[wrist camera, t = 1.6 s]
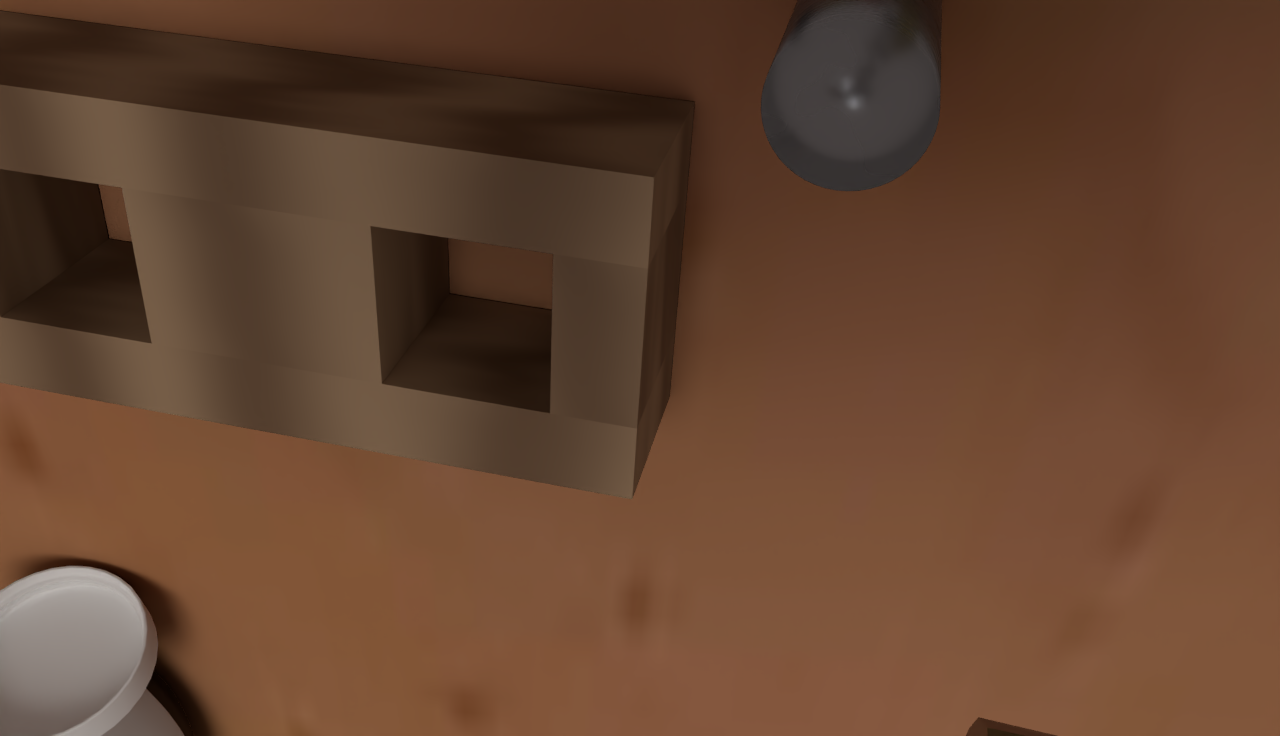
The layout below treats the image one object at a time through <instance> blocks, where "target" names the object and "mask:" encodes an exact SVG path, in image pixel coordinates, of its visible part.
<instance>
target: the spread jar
mask: <svg viewBox="0 0 1280 736" xmlns="http://www.w3.org/2000/svg"><path fill="white" fill-rule="evenodd" d="M157 651H158V639H157V631H156V627H155V624H154V622H153V619H152V617H151V614H150V613H149V611H148V610H147V608H146V607H145V605H144V604H143V602H142V601H141V599H140V598H139V596H138V595H137V594H136V592H135V591H134V589H133V588H132V587H131V586H130V585H129V584H127V583H126V582H125V581H124V580H123V579H121V578H120V577H118V576H116V575H114V574H112V573H110V572H108V571H106V570H102V569H98V568H94V567H89V566H64V567H55V568H50V569H47V570H43V571H40V572H36V573H33V574H31V575H28V576H26V577H24V578H22V579H19V580H17V581H15V582H13V583H12V584H10V585H8V586H7V587H5V588H4V589H2V590H0V736H194V733H193V731H192V728H191V726H190V723H189V720H188V718H187V716H186V714H185V712H184V710H183V708H182V706H181V704H180V702H179V700H178V698H177V697H176V695H175V694H174V692H173V691H172V690H171V688H170V687H169V686H168V685H167V683H166V682H165V681H164V680H163V679H162V678H161V677H160V676H159V675H158V674H157V673H156V672H155V671H154V667H155V664H156V661H157Z"/></svg>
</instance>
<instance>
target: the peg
mask: <svg viewBox="0 0 1280 736" xmlns="http://www.w3.org/2000/svg"><path fill="white" fill-rule="evenodd" d="M941 29H942V0H798V1H797V3H796V6H795V8H794V11H793V13H792V16H791V18H790V21H789V23H788V26H787V28H786V31H785V33H784V35H783V38H782V40H781V43H780V45H779V48H778V50H777V53H776V55H775V58H774V60H773V62H772V65H771V67H770V70H769V72H768V75H767V78H766V81H765V84H764V87H763V92H762V98H761V114H762V122H763V126H764V130H765V133H766V136H767V139H768V141H769V143H770V145H771V147H772V149H773V150H774V152H775V153H776V155H777V156H778V157H779V159H780V160H781V161H782V162H783V163H784V164H785V165H786V166H787V167H788V168H789V169H790V170H791V171H793V172H794V173H795V174H796V175H798V176H800V177H801V178H803V179H804V180H806V181H808V182H810V183H813V184H815V185H818V186H821V187H824V188H828V189H833V190H839V191H860V190H866V189H871V188H874V187H878V186H881V185H884V184H886V183H888V182H891V181H892V180H894V179H896V178H898V177H899V176H901V175H902V174H904V173H905V172H906V171H908V170H909V169H910V168H911V167H912V166H913V165H914V164H915V163H916V162H917V161H918V160H919V159H920V158H921V156H922V155H923V154H924V153H925V151H926V150H927V148H928V146H929V145H930V143H931V141H932V139H933V136H934V134H935V132H936V128H937V124H938V121H939V113H940V84H941Z"/></svg>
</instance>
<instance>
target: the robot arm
mask: <svg viewBox="0 0 1280 736" xmlns="http://www.w3.org/2000/svg"><path fill="white" fill-rule="evenodd" d="M966 736H1056V735H1052V734H1048V733H1043V732H1039V731H1035V730H1031V729H1026V728H1022V727H1018V726H1013V725H1009V724H1005V723H1001V722H996V721H992V720H988V719H984V718H979V717H978V718H977V720H976V721H975V722H974V723H973V724H972V726H971V727H970V728H969V730H968V732H967V735H966Z"/></svg>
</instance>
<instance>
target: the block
mask: <svg viewBox="0 0 1280 736" xmlns="http://www.w3.org/2000/svg"><path fill="white" fill-rule="evenodd" d="M694 105H695V102H691V101H684V100H676V99H669V98H661V97H653V96H646V95H638V94H630V93H623V92H615V91H608V90H600V89H592V88H585V87H577V86H570V85H562V84H554V83H547V82H539V81H531V80H524V79H516V78H509V77H501V76H493V75H486V74H478V73H471V72H463V71H455V70H448V69H440V68H433V67H425V66H417V65H410V64H402V63H394V62H387V61H379V60H372V59H364V58H356V57H349V56H341V55H334V54H326V53H318V52H311V51H303V50H295V49H288V48H280V47H273V46H265V45H257V44H250V43H242V42H235V41H227V40H219V39H212V38H204V37H197V36H189V35H181V34H174V33H166V32H158V31H151V30H143V29H136V28H128V27H120V26H113V25H105V24H98V23H90V22H82V21H75V20H67V19H59V18H52V17H44V16H37V15H29V14H21V13H14V12H6V11H0V383H5V384H10V385H16V386H21V387H27V388H32V389H38V390H43V391H48V392H54V393H59V394H65V395H70V396H75V397H81V398H86V399H92V400H97V401H103V402H108V403H113V404H119V405H124V406H130V407H135V408H140V409H146V410H151V411H157V412H162V413H167V414H173V415H178V416H184V417H189V418H195V419H200V420H205V421H211V422H216V423H222V424H227V425H232V426H238V427H243V428H249V429H254V430H260V431H265V432H270V433H276V434H281V435H287V436H292V437H297V438H303V439H308V440H314V441H319V442H325V443H330V444H335V445H341V446H346V447H352V448H357V449H362V450H368V451H373V452H379V453H384V454H390V455H395V456H400V457H406V458H411V459H417V460H422V461H427V462H433V463H438V464H444V465H449V466H455V467H460V468H465V469H471V470H476V471H482V472H487V473H492V474H498V475H503V476H509V477H514V478H520V479H525V480H530V481H536V482H541V483H547V484H552V485H557V486H563V487H568V488H574V489H579V490H584V491H590V492H595V493H601V494H606V495H612V496H617V497H622V498H628V499H633V496H634V493H635V490H636V488H637V485H638V482H639V479H640V477H641V474H642V471H643V468H644V466H645V463H646V460H647V457H648V455H649V452H650V449H651V446H652V444H653V441H654V438H655V435H656V433H657V430H658V427H659V424H660V422H661V419H662V416H663V413H664V411H665V408H666V405H667V402H668V400H669V397H670V387H671V376H672V364H673V352H674V340H675V329H676V317H677V305H678V293H679V281H680V270H681V258H682V246H683V234H684V222H685V211H686V199H687V187H688V175H689V164H690V152H691V140H692V128H693V116H694ZM98 184H101V185H108V186H114V187H121V188H122V192H123V197H124V202H125V208H126V213H127V218H128V223H129V228H130V233H131V239H132V243H131V242H125V241H118V240H112V239H109V238H108V233H107V228H106V224H105V219H104V214H103V209H102V204H101V199H100V194H99V189H98ZM448 238H452V239H458V240H465V241H471V242H478V243H484V244H491V245H497V246H504V247H510V248H517V249H523V250H530V251H536V252H543V253H549V254H553V287H552V310H546V309H539V308H533V307H527V306H521V305H515V304H508V303H502V302H496V301H490V300H484V299H478V298H471V297H465V296H459V295H453V294H449V265H448Z"/></svg>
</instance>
